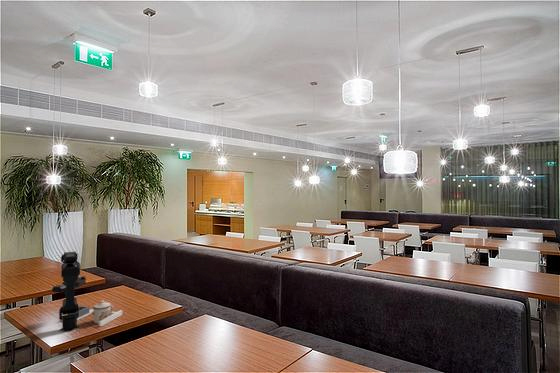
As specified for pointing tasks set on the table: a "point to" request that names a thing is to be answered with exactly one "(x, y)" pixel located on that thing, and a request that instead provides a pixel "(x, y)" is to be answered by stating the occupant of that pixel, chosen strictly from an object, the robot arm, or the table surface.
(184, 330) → the table surface
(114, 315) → the grey open storage bin
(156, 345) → the table surface
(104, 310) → the teacup with lid
